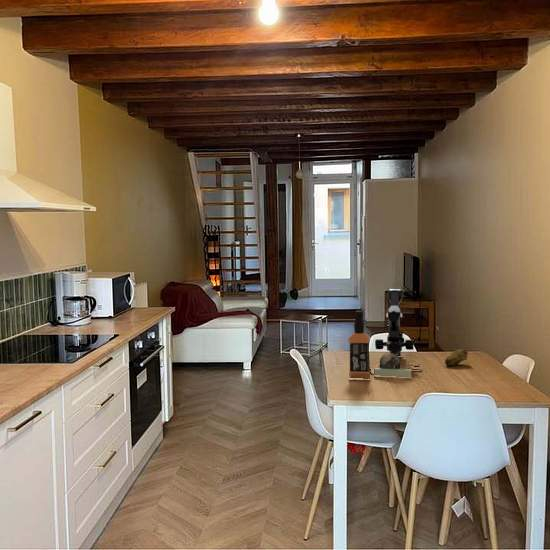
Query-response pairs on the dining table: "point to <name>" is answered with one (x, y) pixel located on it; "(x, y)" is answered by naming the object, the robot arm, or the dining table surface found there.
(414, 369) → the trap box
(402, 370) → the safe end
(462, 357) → the olive brown frog figurine
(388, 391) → the dining table surface
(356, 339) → the whiskey bottle
